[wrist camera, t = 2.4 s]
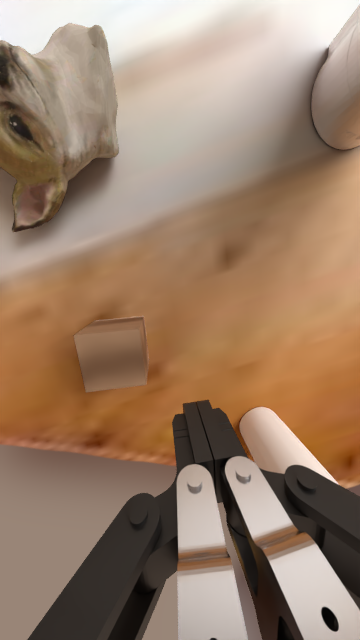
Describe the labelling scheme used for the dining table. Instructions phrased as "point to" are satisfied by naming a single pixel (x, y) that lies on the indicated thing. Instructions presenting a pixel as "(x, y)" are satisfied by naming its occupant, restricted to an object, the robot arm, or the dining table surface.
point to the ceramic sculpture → (54, 117)
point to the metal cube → (113, 353)
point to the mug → (275, 443)
